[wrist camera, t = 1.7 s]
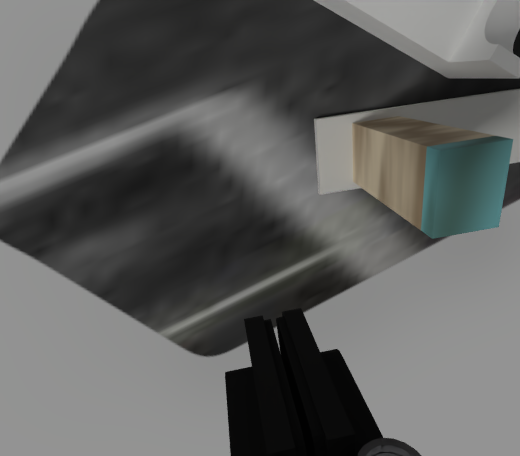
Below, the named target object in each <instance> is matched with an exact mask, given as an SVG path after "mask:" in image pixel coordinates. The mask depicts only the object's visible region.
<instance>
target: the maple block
mask: <svg viewBox="0 0 520 456" xmlns="http://www.w3.org/2000/svg"><path fill="white" fill-rule="evenodd" d="M352 144H353V182H354V183H356V184H357V185H359V186H360V187H361V188H363V189H364V190H365V191H367V192H368V193H370V194H371V195H372V196H374V197H375V198H377V199H378V200H379V201H381V202H382V203H384V204H385V205H386V206H388V207H389V208H391V209H392V210H393V211H395V212H396V213H398V214H399V215H400V216H402V217H403V218H405V219H406V220H407V221H409V222H410V223H412V224H413V225H414V226H416V227H417V228H418V229H420V230H421V231H423V232H424V233H425V234H427V235H428V236H430V237H431V238H432V239H433V238H439V237H445V236H450V235H456V234H462V233H467V232H473V231H478V230H484V229H490V228H495V227H499V222H500V216H501V210H502V204H503V198H504V192H505V186H506V180H507V174H508V168H509V162H510V156H511V150H512V144H513V139H510V138H505V137H500V136H495V135H490V134H485V133H480V132H475V131H470V130H465V129H460V128H455V127H450V126H445V125H440V124H435V123H431V122H426V121H421V120H416V119H411V118H406V117H401V116H396V117H390V118H383V119H376V120H370V121H363V122H356V123H352Z"/></svg>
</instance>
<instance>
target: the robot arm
mask: <svg viewBox="0 0 520 456" xmlns="http://www.w3.org/2000/svg"><path fill="white" fill-rule="evenodd" d="M244 321H245V327H246V333H247V339H248V345H249V351H250V357H251V363H252V367H248V368H243V369H238V370H234V371H229V372H226V373H225V380H226V394H227V407H228V422H229V437H230V451H231V456H421V455H420V454H419V453H418V452H417V451H416V450H415V449H414V448H412V447H411V446H409V445H407V444H406V443H404V442H401V441H399V440H396V439H391V438H383V436H382V434H381V432H380V430H379V428H378V426H377V424H376V422H375V420H374V418H373V416H372V414H371V412H370V410H369V408H368V406H367V404H366V402H365V400H364V399H363V396H362V394H361V392H360V390H359V388H358V386H357V384H356V383H355V380H354V378H353V377H352V374H351V372H350V370H349V369H348V367H347V365H346V363H345V361H344V359H343V357H342V355H341V353H340V351H339V350H337V349H334V350H330V351H325V352H320V351H319V349H318V347H317V344H316V342H315V340H314V337H313V335H312V332H311V330H310V328H309V326H308V323H307V321H306V319H305V316H304V314H303V311H302V309H301V308H299V309H293V310H288V311H283V312H282V317H279V318H276V323H277V329H278V338H279V345H280V351H279V347H278V344H277V340H276V337H275V333H274V329H273V326H272V322H271V319H269V320H264V319H263V316H258V317H253V318H247V319H244ZM280 353H281V354H280Z"/></svg>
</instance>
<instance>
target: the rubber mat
mask: <svg viewBox="0 0 520 456" xmlns="http://www.w3.org/2000/svg"><path fill="white" fill-rule="evenodd" d="M396 116H401V117H406V118H411V119H416V120H421V121H426V122H431V123H435V124H440V125H445V126H450V127H455V128H460V129H465V130H470V131H475V132H480V133H485V134H490V135H495V136H500V137H505V138H510V139H513V144H512V150H511V156H510V162H509V164H510V163H516V162H520V88H519V89H512V90H506V91H499V92H492V93H485V94H478V95H472V96H465V97H458V98H451V99H445V100H438V101H431V102H424V103H418V104H411V105H404V106H397V107H390V108H384V109H377V110H370V111H363V112H357V113H350V114H343V115H336V116H329V117H323V118H316V119H314V126H315V143H316V160H317V177H318V193H319V194H320V195H321V194H327V193H333V192H339V191H345V190H351V189H358V188H361V187H360V186H359V185H357V184H356V183H354V182H353V144H352V123H356V122H363V121H370V120H376V119H383V118H390V117H396Z"/></svg>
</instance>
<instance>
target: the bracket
mask: <svg viewBox="0 0 520 456" xmlns="http://www.w3.org/2000/svg"><path fill="white" fill-rule="evenodd" d="M314 1H316V2H318V3H319V4H321V5H323V6H324V7H326V8H328V9H330V10H331V11H333V12H335V13H337V14H338V15H340V16H342V17H343V18H345V19H347V20H349V21H350V22H352V23H354V24H355V25H357V26H359V27H361V28H362V29H364V30H366V31H368V32H369V33H371V34H373V35H374V36H376V37H378V38H380V39H381V40H383V41H385V42H386V43H388V44H390V45H392V46H393V47H395V48H397V49H399V50H400V51H402V52H404V53H405V54H407V55H409V56H411V57H412V58H414V59H416V60H417V61H419V62H421V63H423V64H424V65H426V66H428V67H430V68H431V69H433V70H435V71H436V72H438V73H440V74H442V75H443V76H445V77H447V78H520V58H519V57H518V56H516V55H515V54H513V44H514V41H515V38H516V35H517V33H518V31H519V29H520V0H314Z"/></svg>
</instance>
